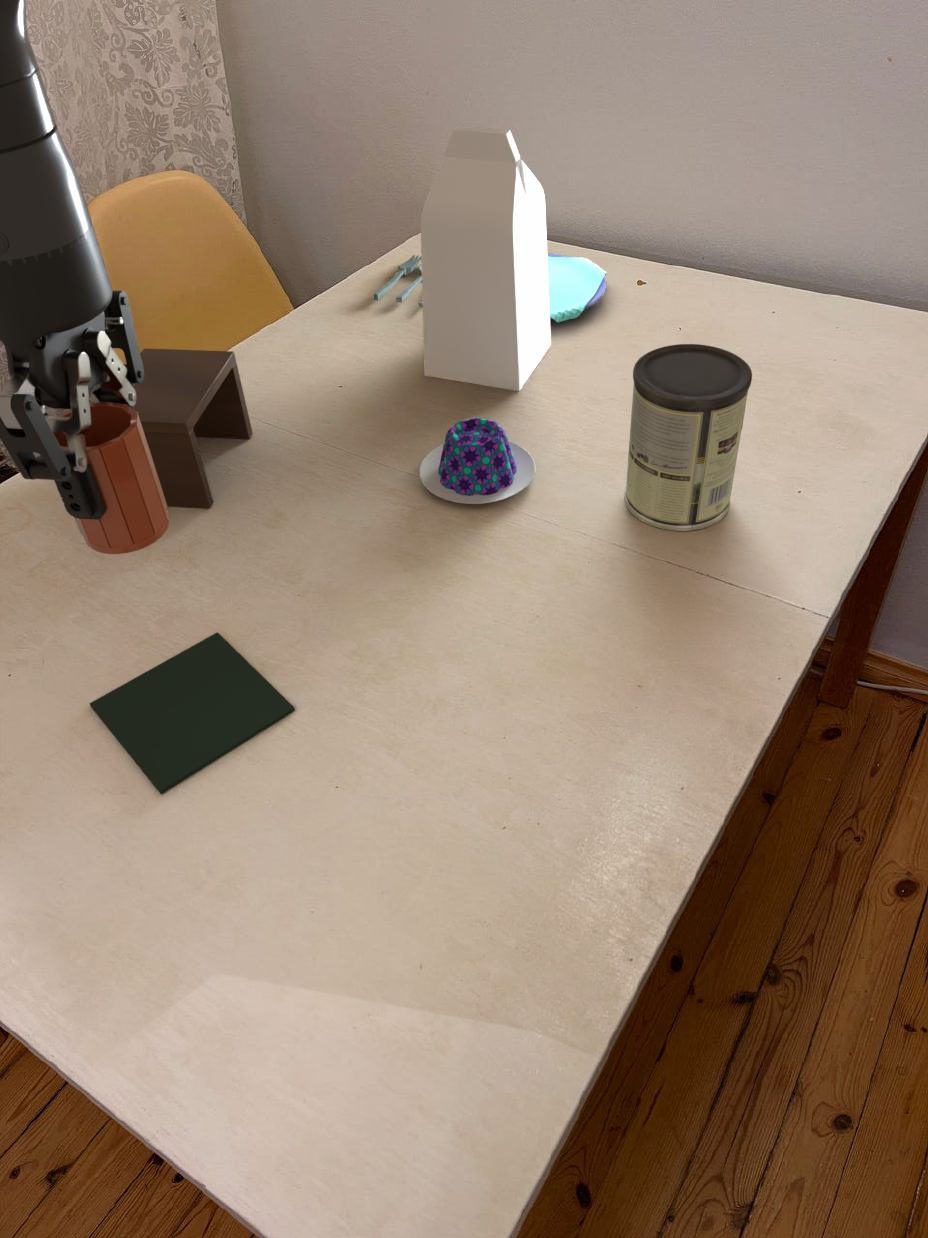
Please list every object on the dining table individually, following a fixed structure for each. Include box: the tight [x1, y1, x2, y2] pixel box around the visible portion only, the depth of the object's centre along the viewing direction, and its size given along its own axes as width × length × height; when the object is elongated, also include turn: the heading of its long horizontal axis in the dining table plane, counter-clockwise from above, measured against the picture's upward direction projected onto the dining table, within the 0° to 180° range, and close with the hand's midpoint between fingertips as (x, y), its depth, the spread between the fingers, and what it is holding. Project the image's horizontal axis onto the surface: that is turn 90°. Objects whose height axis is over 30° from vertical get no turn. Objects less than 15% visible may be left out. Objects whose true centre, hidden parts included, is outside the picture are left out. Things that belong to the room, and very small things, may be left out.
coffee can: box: [624, 343, 753, 532], centre depth 90 cm, size 10×10×14 cm
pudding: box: [418, 417, 537, 505], centre depth 98 cm, size 12×12×5 cm
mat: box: [89, 631, 296, 795], centre depth 78 cm, size 12×12×1 cm
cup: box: [54, 402, 171, 555], centre depth 63 cm, size 6×6×8 cm
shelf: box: [133, 347, 254, 510], centre depth 100 cm, size 14×10×10 cm
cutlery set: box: [372, 252, 608, 323], centre depth 129 cm, size 20×30×2 cm, turn 69°
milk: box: [420, 125, 552, 392], centre depth 108 cm, size 12×12×26 cm
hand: (110, 484), depth 63 cm, fingers closed on cup, 6 cm apart
